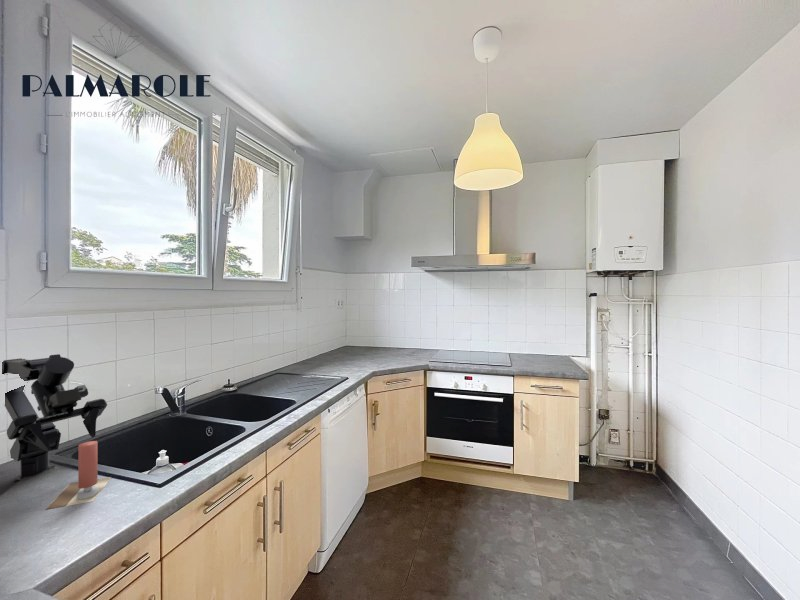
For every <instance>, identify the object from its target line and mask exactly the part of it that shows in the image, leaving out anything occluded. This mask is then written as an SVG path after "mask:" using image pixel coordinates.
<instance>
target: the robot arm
mask: <svg viewBox="0 0 800 600" xmlns="http://www.w3.org/2000/svg"><path fill="white" fill-rule="evenodd" d="M2 361H3V362H2V374H4V375H6V374H19V376H20V378H21V379H23V380H24V381H28V382H29V381H33V383H32V384H31V385H30V388H31V391H30V393H31V395H34V397H35V400H36V403H37V405H38V406H37V407H36V408H37V411H38V412H40V411H41V414H42V416H41V417H39V415H38V413H37V411H36V410H35V408H34V407H33V405H32V403H31V402H30V400H29V398H28V396H27V395H26V393H25V390H24V387H25V385H24V386H21V387H19V388H17V389H14V390H11V391H9V392H7V393H5V405H4V407H5V409H6V410H7V413H8V414H9V416H10V418H11V419H12V420H11V422H10V424H9V426H8V427H7V430H6V435H7V439H8V440H11V441H12V440H14V442H13V444H12V445H11V448H10V449H9V454H10V458H11V459H13V460H14V461H16V462H20V463H19V464H20V465H19V468H20V470H19V471H20V474H19V475H18V476H16V477H15V478H14V479H13V480H12V482H13V483H16V482H20V481H21V480H22V479H24V478H26V477H27V478H28V477H33V476H36V475H38V474H40V473H43V472H45V471H50V470H54V469H55V468H56V465H50V452H53V451H57V450H59V447H60V442H61V437H62V433H61V432H60V430H59V429H58V428H56V425H55V424H54V423H55V422H59V421H63V420H68V419H72V418H77V417H78V416H79V417H81V418H82V419H83V421H82V422H83V425H84V427H85V429H86V430H87V432H88V434H89V436H90V437H91V438H93V439H94V438H95V437H96V435H97V434H96V432H97V431H96V430H97V419H98V417H99V416H101V415H102V413H103V412H104V410H105V409H106V408H107V406H108V403H107V401H106V400H105V399H103V398H97V399H94V400H90V401H89V400H88V401H86V403H85V404H84V406H83V407H81V408H76V407H77V406H78V401H81V400H82V399H83V398H85V397H87V396H89V389H88V387H87V386H86V384H81V385H77V386H76V387H74V388H72V389H71V388H70V389H67V390H66V389H65V388H64V385H63V384H65V383H66V382H67V380H68V378H69V376H70V374H71V373H72V371H73V370H74V367H75V363H74V361H72V360H71V359H69V358H67V357H63V356H61V354H60V353H59V354H57V353H56V354H50V355H49V357H45V358H44V357H43V358H35V359H26V358H21V357H20V358H14V359H13V358H12V359H4V360H2ZM25 388H26V387H25ZM23 390H24V392H23ZM74 408H75V409H74Z"/></svg>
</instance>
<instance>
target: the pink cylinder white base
mask: <svg viewBox="0 0 800 600" xmlns="http://www.w3.org/2000/svg"><path fill="white" fill-rule="evenodd" d="M77 449H78V450H77V451H78V457H77V458H78V459H77V462H78V469H77V470H78V471H77V472H78V473H77V474H78V477H77V478H78V480H77V482H78V488H84V489H82V490H80V491H79V492H78V493H77V499H78V500H86V499H89V498H92V497H94V496H96V495H97V494H98V487H97V486H93V485H95V484H97V479H98V477H99V476H98V473H99V472H98V471H99V469H98V468H99V467H98V461H99V460H98V454H99V453H98V440H90V441H86V442H85V441H84V442H82V443H80V444H79V445H78V446H77ZM98 495H99V494H98Z"/></svg>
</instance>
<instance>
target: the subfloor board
mask: <svg viewBox="0 0 800 600" xmlns="http://www.w3.org/2000/svg"><path fill="white" fill-rule="evenodd" d="M111 479H112V476H109V477H103V478H97V484H95V485H93V486H97V487H98V494H97V495H96V496H94V497H92V498H89V499H86V500H78V499H77V493H78V492H79V491H80V490H82V489H84V488H78V481H75V482H70V483H69V484H68V485H66V487H65V488H64V489H63V490H62V491H61V492H60V493H59V494H58V495H57V497H55V498H54V499H53V501H51V503H49V505H48V506H46V508H45V509H44V510H45V511H47V510H52V509H57V508H63V507H68V506H74V505H80V504H85V503H90V502H91V503H93V502H94V501H95V500H96V498H97V497H98V495H99V494H100V493H101V492H102V490H103V489H104V488H105V486H106V485H107V484H108V483H109V481H110V480H111Z"/></svg>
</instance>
